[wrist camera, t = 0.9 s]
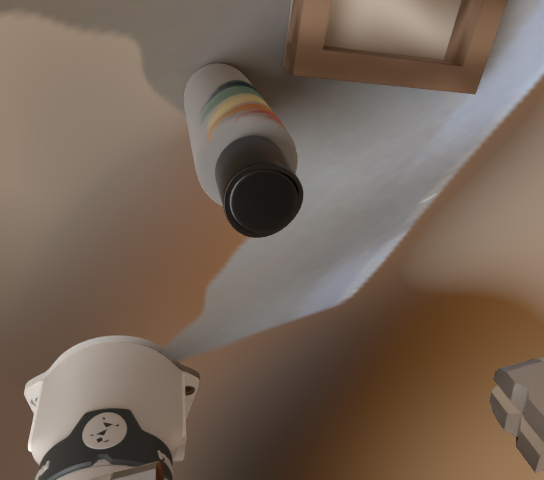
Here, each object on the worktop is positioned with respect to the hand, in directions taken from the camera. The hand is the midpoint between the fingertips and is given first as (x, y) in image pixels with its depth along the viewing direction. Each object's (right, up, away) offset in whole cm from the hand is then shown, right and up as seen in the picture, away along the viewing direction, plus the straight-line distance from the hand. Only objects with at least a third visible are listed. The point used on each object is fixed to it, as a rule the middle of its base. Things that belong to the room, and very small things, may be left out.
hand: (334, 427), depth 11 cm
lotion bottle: (-6, +16, +27) cm, 32 cm away
